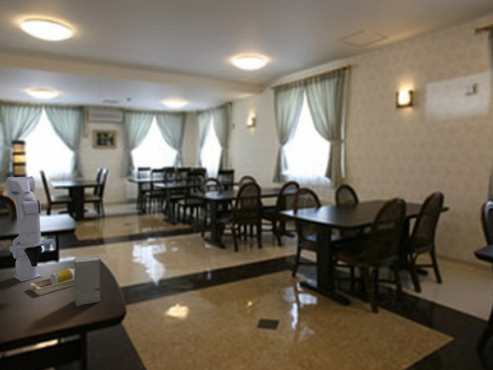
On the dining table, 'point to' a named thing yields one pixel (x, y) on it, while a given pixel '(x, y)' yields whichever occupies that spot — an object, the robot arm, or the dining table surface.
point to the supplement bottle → (62, 276)
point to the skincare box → (87, 280)
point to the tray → (40, 291)
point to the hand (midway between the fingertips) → (34, 266)
